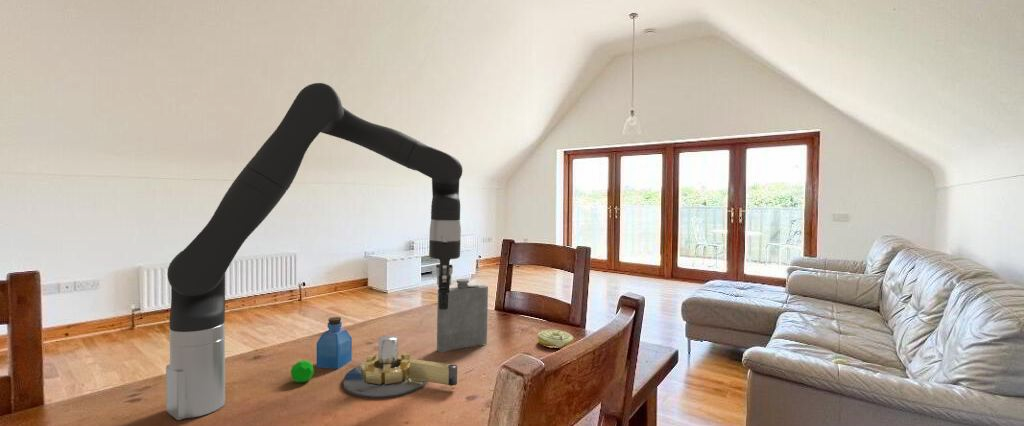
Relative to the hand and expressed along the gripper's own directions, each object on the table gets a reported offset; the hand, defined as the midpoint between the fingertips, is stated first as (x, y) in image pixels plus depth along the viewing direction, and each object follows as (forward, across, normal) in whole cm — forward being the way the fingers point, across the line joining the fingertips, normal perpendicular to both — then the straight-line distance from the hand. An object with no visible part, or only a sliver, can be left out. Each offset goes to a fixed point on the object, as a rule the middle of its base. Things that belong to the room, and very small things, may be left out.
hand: (443, 308), depth 109 cm
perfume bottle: (+18, -12, -28) cm, 35 cm away
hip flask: (+17, -22, +6) cm, 29 cm away
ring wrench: (+16, +3, -7) cm, 17 cm away
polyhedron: (+18, -2, -33) cm, 37 cm away
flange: (+17, 0, -13) cm, 21 cm away
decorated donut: (+17, -21, +34) cm, 44 cm away
